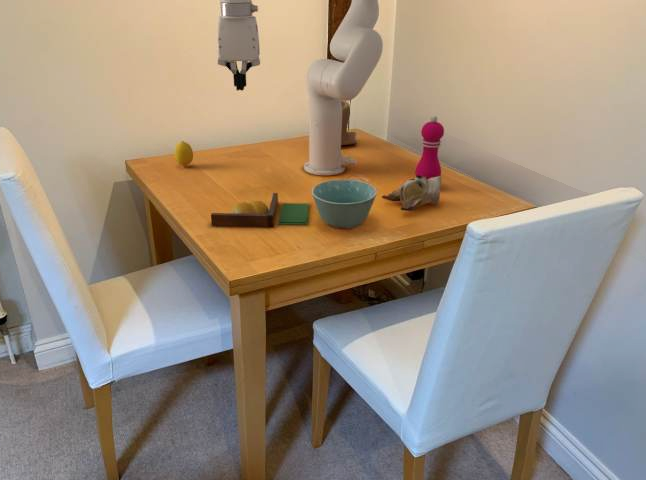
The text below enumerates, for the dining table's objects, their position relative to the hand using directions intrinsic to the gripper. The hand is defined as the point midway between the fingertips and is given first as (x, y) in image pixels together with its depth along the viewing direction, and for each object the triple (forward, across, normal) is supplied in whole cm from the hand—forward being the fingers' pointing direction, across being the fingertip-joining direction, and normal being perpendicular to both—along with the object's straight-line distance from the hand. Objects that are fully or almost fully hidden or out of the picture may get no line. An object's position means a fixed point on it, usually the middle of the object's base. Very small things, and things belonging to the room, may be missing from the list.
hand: (240, 89), depth 149 cm
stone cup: (+27, -26, -43) cm, 57 cm away
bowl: (+27, -27, +21) cm, 44 cm away
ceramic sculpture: (+27, -46, +10) cm, 54 cm away
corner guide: (+27, -2, +18) cm, 32 cm away
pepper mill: (+27, -51, -4) cm, 58 cm away
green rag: (+27, -15, +17) cm, 35 cm away
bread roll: (+27, -4, +19) cm, 34 cm away
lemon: (+27, +21, -18) cm, 39 cm away
